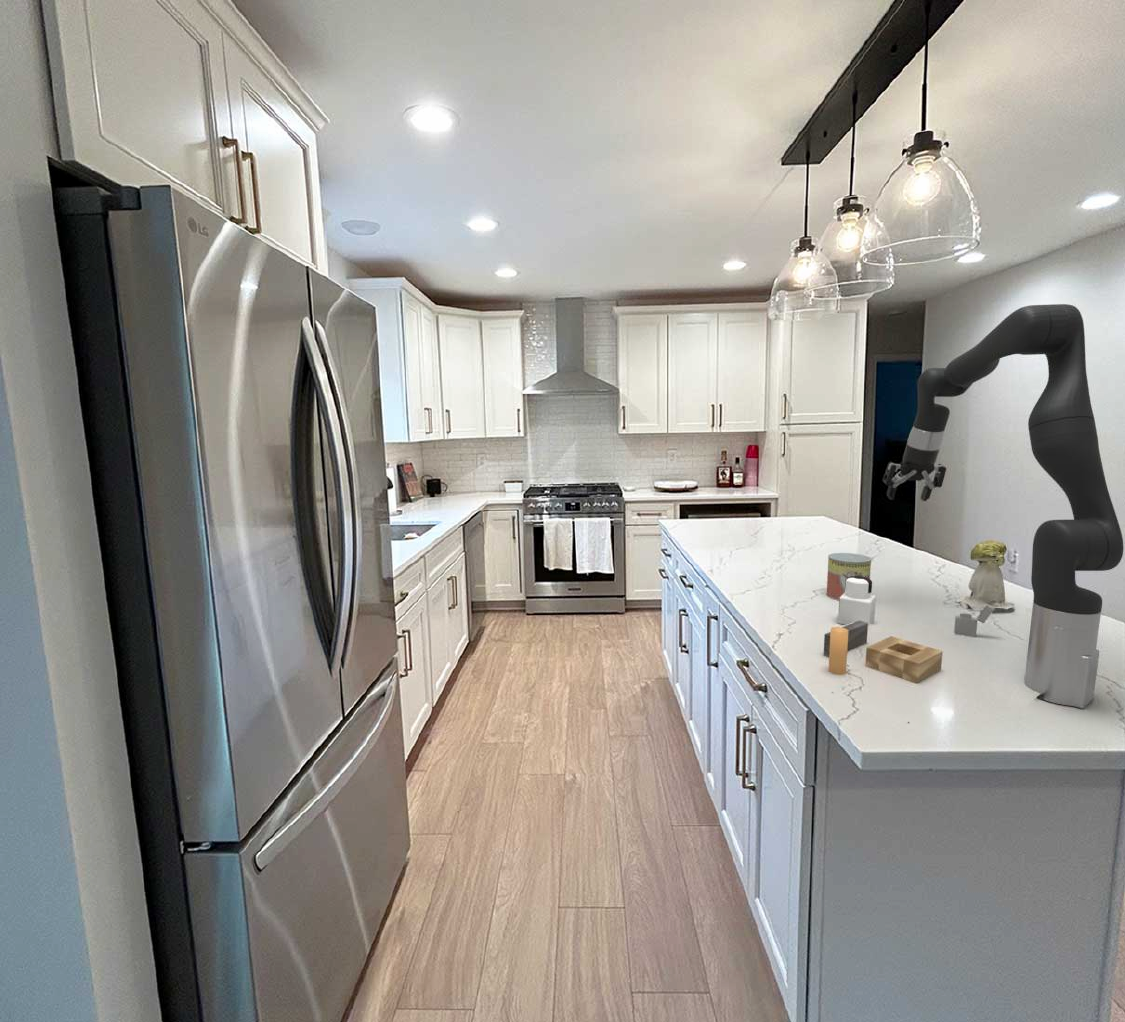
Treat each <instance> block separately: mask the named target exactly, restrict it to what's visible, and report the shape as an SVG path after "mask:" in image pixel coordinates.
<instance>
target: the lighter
mask: <svg viewBox="0 0 1125 1022" xmlns="http://www.w3.org/2000/svg"><path fill="white" fill-rule="evenodd" d="M994 611H995V608H994V607H992V606H990V605H988V604H987V605H986V607H985V608H984V609H983V610H982V611H980V613H979V614H978V616H977V617H972V616H973V614H972V613H967V612H962V613H960V614H959V615H957V614H956V615H955V618H954V620H955V621H954V628H953V629H954V631H953V633H955V634H954V635H957V636H962V635H964V636H965V637H969V636H970V638H977V630H978V622H981V623H982V624H984V623H985V622H986V621H987V620H988V618H989V617H990V616H991V615H992V613H993V612H994Z"/></svg>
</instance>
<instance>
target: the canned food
mask: <svg viewBox="0 0 1125 1022" xmlns="http://www.w3.org/2000/svg"><path fill="white" fill-rule="evenodd" d="M827 557H828V559H827V563H828V564H827V581H826V582H827V583H826V593H825V596H826V597H827V596H828V598H829V597H830V598H829V599H831V600H834V601H838V602H839V598H840V597H841V596H842V595H843V594H844V593H845V579H846V578H847V577H850V576H862V577H866V578H868V579H870V580H871V569H872V568H871V566H872V565H871V564H872V558H871V557H869V556H867V555H865V554H859V553H850V552H835V553H831V554H828V556H827Z"/></svg>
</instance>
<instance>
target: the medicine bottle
mask: <svg viewBox="0 0 1125 1022" xmlns="http://www.w3.org/2000/svg"><path fill="white" fill-rule="evenodd" d="M872 591H873V581H872V579H871V578H870V579H868V578H866V577H862V576H850V577H847V578H846V579H845V593H844V594H843V595H842V596H841V597H840V598H839V601H838V614H837V615H838V616H837V617H838V618H837V619H838V620H837V622H838V623H837V624H839V625H844V626H847V625H849V624H852V623H854V622H857V621H863V622H866V623H868V626H870V625H873V624H874V622H875V619H876V618H875V614H876V602H877V601H876V600H877V596H876V595H875V594H872Z"/></svg>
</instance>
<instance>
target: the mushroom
mask: <svg viewBox="0 0 1125 1022" xmlns="http://www.w3.org/2000/svg"><path fill="white" fill-rule="evenodd" d="M1007 550H1008V549H1007V545H1006V544H1005V543H1004V542H999V541H994V540H984V541H981V542H979V543H977V544H976V545H975V546H974V547H973V548H972V549H971V552H970V560H971V561H975V562H978V563H979V564H978V565H976V567H975V570H974V571H973V574H972V575H971V577H970V579H969V582H968V589H969V590H970V591H971V593H970V595H969V596H961V595H959V593H957V594H956V596H957V597H956V598H955V602H956V603H959V604H960V605H961V607H962V608H964V607H965V608H966V609H967V608H969V607H970V608H971V610H973V611H975V612H976V611H977V612H982V611H983V609H984V608H985V607H986V605H987V604H988V605H990V606H992V607H994V609H1004V610H1005V611H1008V610H1009V609H1012V608H1013V609H1014V610H1015V609H1016V608H1015V603H1014V602H1010V601H1009V602H1007V601H1006V589H1005V582H1004V573H1003V572H1002V569H1001V568H1000V567H1002V566H1003V565H1004V564H1005V554H1006V552H1007Z"/></svg>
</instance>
